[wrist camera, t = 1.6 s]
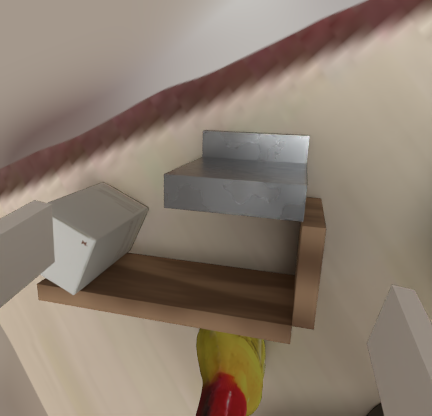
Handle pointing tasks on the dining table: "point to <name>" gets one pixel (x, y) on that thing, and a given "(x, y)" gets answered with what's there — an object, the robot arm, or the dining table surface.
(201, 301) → the shelf
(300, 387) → the dining table surface
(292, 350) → the dining table surface
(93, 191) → the supplement box
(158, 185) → the dining table surface
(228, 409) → the bottle
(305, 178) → the bookend
